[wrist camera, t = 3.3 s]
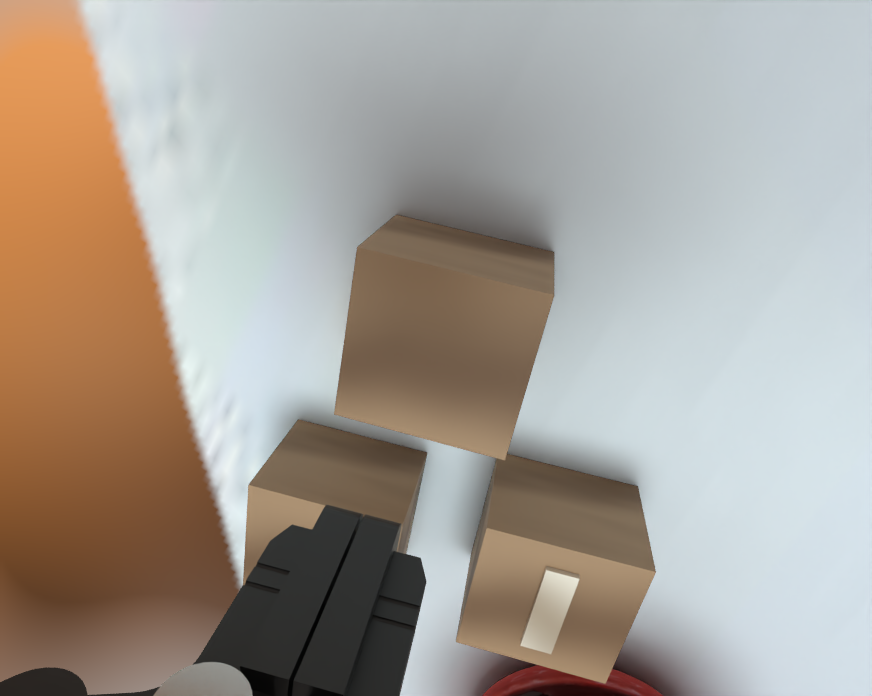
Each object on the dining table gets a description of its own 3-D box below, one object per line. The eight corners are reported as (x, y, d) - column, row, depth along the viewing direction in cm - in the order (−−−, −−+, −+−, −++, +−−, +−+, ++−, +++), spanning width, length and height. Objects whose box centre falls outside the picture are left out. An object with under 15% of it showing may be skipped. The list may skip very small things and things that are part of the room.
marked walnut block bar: (498, 449, 26) (486, 531, 21) (637, 484, 25) (656, 576, 20) (471, 553, 28) (455, 646, 24) (596, 586, 28) (605, 688, 23)
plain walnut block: (397, 213, 22) (357, 247, 18) (554, 251, 22) (554, 295, 17) (373, 354, 25) (334, 414, 20) (514, 390, 24) (504, 460, 20)
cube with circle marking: (299, 417, 27) (246, 488, 22) (428, 450, 26) (401, 530, 22) (289, 519, 29) (239, 601, 25) (406, 551, 29) (378, 641, 24)
